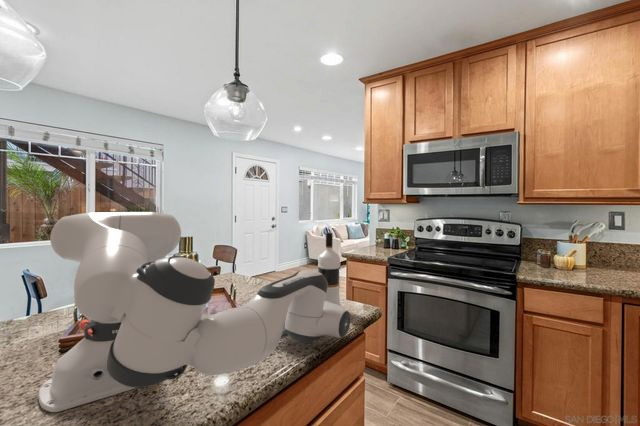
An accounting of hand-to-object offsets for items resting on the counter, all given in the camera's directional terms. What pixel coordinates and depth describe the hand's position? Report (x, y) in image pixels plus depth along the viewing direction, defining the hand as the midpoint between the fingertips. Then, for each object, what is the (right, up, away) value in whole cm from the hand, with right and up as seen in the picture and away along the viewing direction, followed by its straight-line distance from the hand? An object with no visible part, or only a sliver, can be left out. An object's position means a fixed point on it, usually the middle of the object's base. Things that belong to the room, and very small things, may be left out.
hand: (277, 299), depth 103 cm
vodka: (+18, -8, +12) cm, 23 cm away
